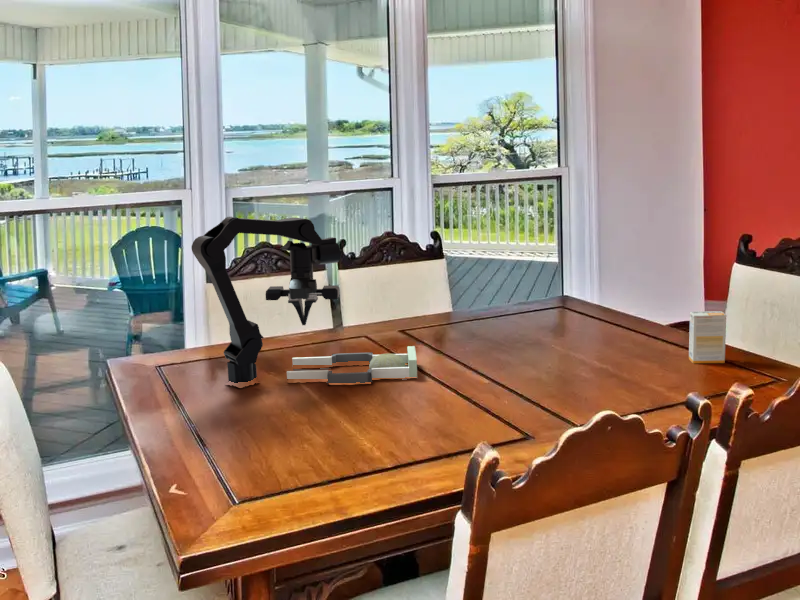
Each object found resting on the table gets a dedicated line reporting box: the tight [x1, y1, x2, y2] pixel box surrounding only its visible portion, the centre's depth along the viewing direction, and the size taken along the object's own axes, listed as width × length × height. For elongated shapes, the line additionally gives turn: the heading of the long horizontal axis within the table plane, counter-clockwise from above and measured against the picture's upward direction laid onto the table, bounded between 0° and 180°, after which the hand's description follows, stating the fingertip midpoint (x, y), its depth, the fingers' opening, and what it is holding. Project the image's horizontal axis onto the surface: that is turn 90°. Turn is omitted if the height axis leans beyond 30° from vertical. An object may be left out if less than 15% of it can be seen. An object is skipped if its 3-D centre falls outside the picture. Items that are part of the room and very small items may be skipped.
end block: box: [406, 345, 418, 378], centre depth 217 cm, size 2×14×5 cm, turn 1°
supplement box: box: [688, 310, 727, 364], centre depth 217 cm, size 8×5×13 cm, turn 84°
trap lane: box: [286, 351, 409, 384], centre depth 217 cm, size 31×20×3 cm, turn 91°
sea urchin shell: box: [368, 353, 406, 369], centre depth 217 cm, size 9×8×8 cm
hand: (304, 325), depth 218 cm, fingers closed
